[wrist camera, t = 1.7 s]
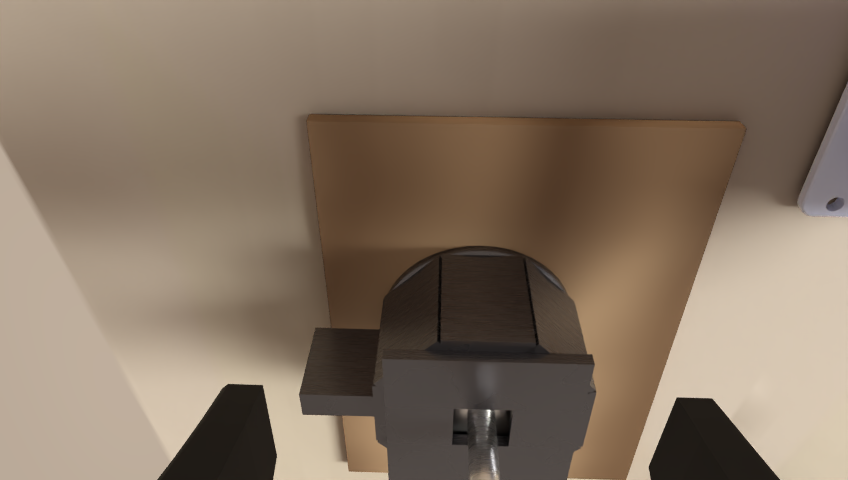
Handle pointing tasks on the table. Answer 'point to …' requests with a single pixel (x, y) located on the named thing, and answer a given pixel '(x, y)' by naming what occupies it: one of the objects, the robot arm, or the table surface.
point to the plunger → (482, 439)
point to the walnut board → (530, 234)
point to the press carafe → (463, 366)
